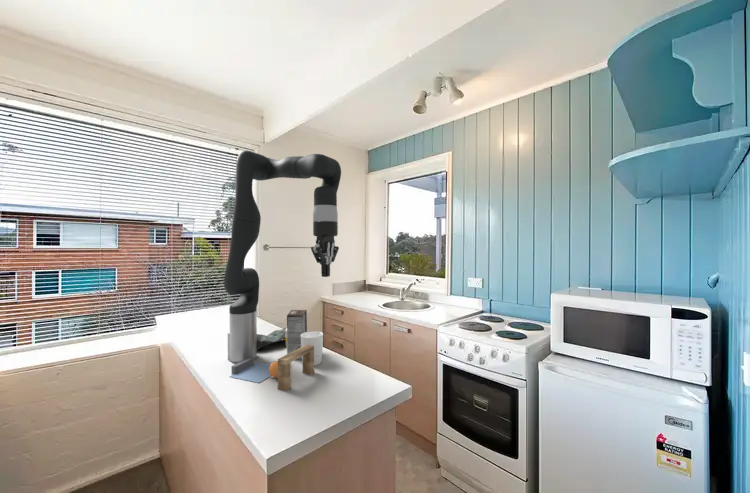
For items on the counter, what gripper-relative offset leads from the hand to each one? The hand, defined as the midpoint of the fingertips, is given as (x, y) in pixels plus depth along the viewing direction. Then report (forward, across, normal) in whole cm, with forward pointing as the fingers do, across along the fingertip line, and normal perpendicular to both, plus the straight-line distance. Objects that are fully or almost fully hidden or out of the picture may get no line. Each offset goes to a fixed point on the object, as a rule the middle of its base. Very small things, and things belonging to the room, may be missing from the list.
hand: (325, 276), depth 94 cm
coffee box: (+32, -15, -22) cm, 42 cm away
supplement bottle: (+32, -22, -30) cm, 49 cm away
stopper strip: (+32, +4, -30) cm, 44 cm away
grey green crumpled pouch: (+32, -23, -38) cm, 55 cm away
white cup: (+32, -10, -12) cm, 36 cm away
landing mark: (+32, +4, -23) cm, 40 cm away
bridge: (+32, +4, -8) cm, 33 cm away
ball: (+29, +4, -15) cm, 33 cm away
